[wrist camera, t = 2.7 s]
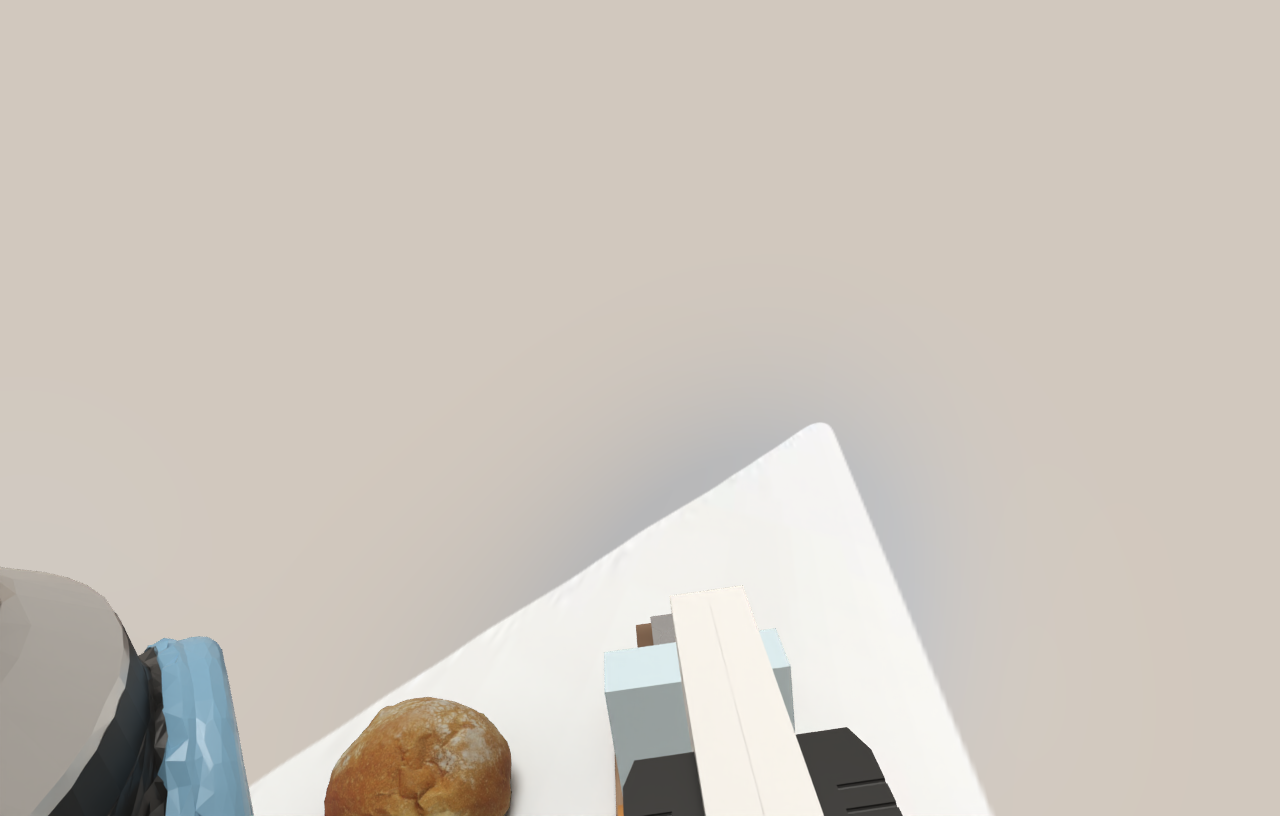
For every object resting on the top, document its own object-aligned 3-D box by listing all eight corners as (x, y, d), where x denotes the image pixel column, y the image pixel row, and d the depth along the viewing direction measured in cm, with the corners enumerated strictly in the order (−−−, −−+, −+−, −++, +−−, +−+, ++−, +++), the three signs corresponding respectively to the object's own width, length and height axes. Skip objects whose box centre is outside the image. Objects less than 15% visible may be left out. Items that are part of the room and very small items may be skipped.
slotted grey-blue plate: (817, 974, 27) (796, 665, 23) (652, 998, 27) (598, 693, 23) (796, 898, 30) (774, 610, 25) (647, 920, 30) (598, 635, 25)
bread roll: (542, 824, 42) (544, 685, 43) (448, 929, 32) (453, 746, 33) (399, 803, 45) (403, 673, 46) (273, 893, 35) (281, 726, 36)
